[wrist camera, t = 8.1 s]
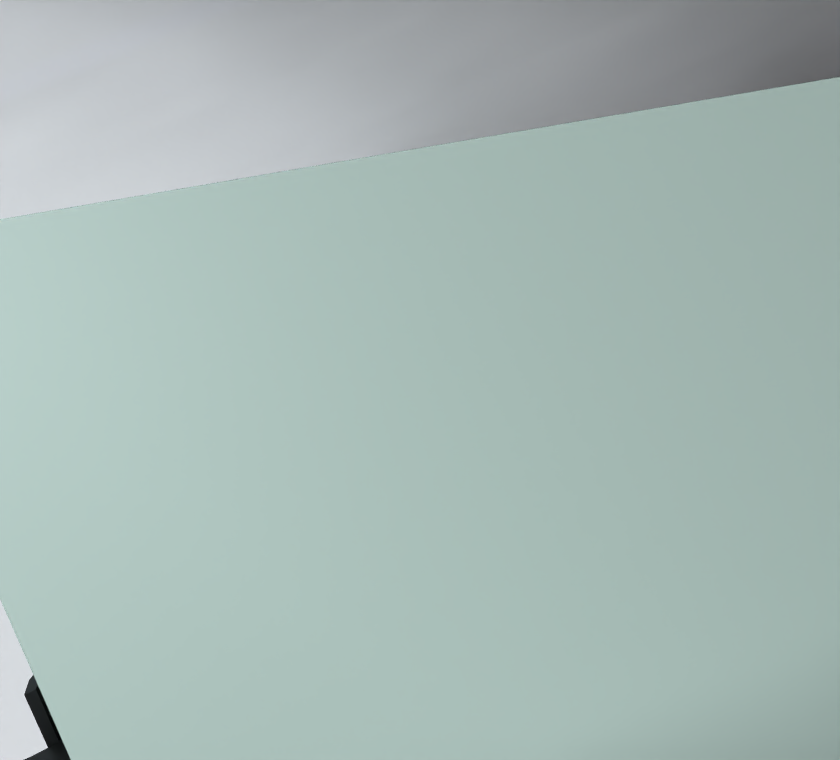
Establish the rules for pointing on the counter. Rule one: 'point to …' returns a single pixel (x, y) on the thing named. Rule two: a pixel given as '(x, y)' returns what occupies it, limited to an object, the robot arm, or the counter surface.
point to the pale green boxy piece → (440, 449)
